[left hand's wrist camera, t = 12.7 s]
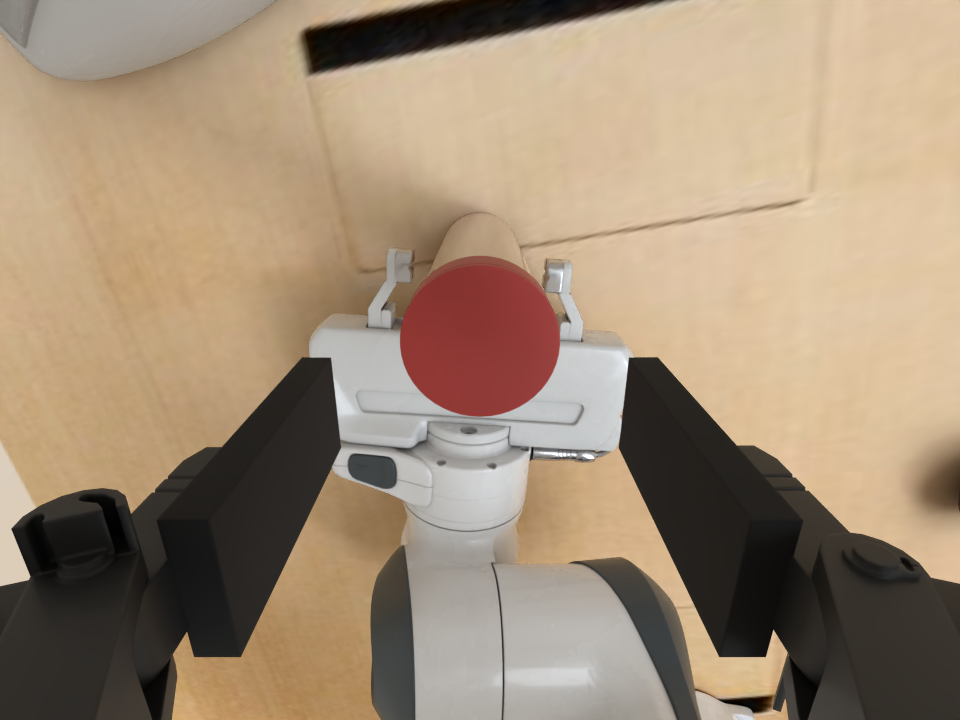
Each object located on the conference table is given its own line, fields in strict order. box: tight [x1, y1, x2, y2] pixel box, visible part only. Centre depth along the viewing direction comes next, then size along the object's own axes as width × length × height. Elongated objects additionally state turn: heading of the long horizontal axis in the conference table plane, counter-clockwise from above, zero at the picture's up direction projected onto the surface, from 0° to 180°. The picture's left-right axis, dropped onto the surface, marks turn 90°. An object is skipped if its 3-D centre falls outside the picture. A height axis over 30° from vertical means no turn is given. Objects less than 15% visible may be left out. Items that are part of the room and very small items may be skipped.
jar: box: [427, 213, 533, 277], centre depth 28 cm, size 5×5×20 cm
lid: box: [400, 256, 560, 417], centre depth 19 cm, size 6×6×2 cm
